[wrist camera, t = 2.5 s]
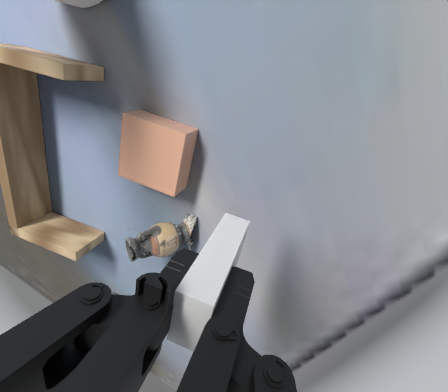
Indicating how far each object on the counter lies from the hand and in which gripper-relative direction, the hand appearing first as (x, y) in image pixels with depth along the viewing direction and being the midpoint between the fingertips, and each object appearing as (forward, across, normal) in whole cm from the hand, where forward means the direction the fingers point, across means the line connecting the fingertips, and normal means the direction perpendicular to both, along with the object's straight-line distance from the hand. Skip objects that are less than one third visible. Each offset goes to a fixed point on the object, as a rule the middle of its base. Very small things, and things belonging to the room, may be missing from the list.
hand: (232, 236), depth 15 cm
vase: (+10, -8, -8) cm, 15 cm away
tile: (+10, -10, 0) cm, 14 cm away
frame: (+10, -21, -4) cm, 24 cm away
